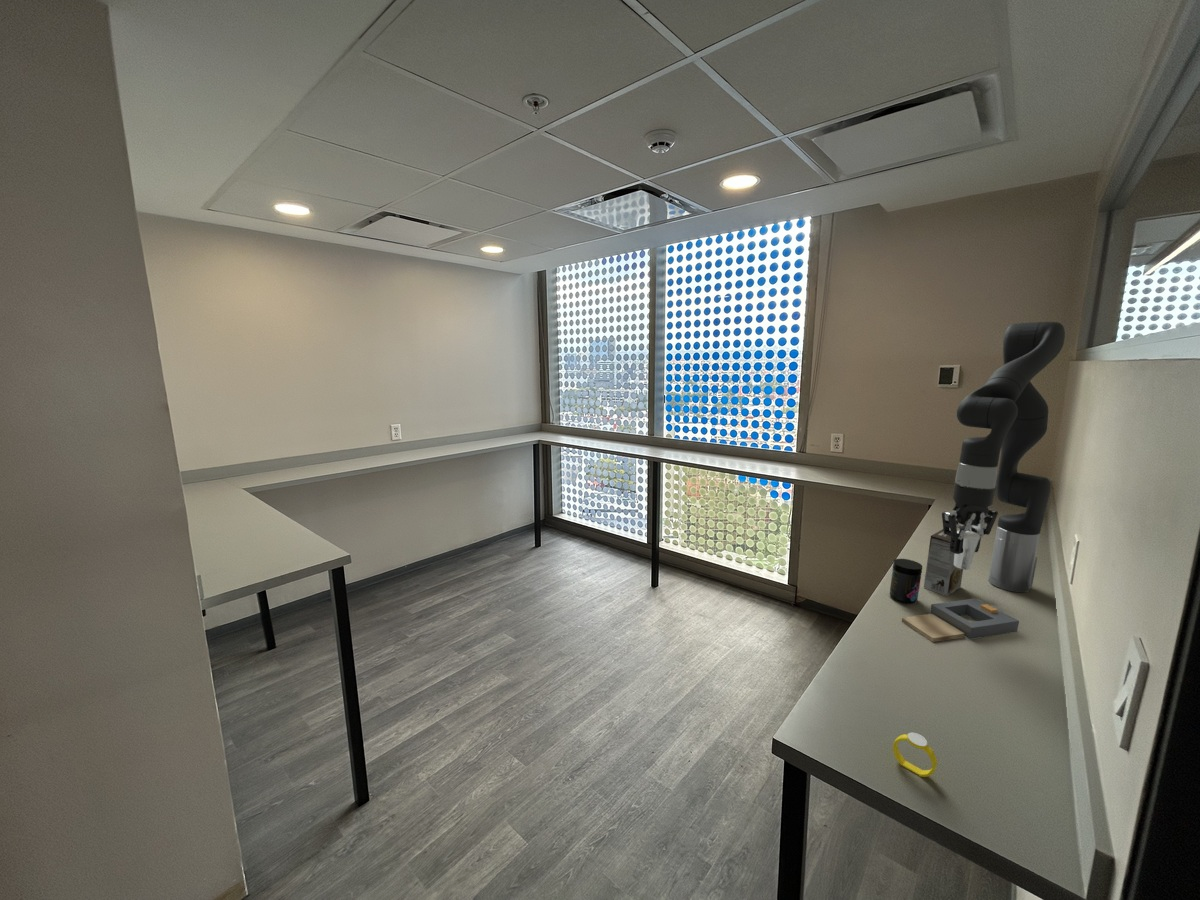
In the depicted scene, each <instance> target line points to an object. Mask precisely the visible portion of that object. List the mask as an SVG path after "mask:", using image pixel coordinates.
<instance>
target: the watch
mask: <svg viewBox="0 0 1200 900" xmlns="http://www.w3.org/2000/svg"><path fill="white" fill-rule="evenodd" d="M901 741H904V742H905V741H907V742H908V744H909V745H910V746H912V747H914V748H915V749H917V750H918V749H919V750H922V751H924V752H925V753H926V755H928V758H929V760H930V762H931V768H930V769H922V768H920V767H918V766H916V765H914V764H912V763H911V762H909V761H908V760H905V758H904V756H903V755H902V754H901V752H900V749H899V745H898V744H899V742H901ZM892 752H893V755H894V757H895V759H896V760H897V762H898V763H899V764H900V765H901V766H902V767H903V768H905V769H907V770H909V771H911V772H913V773H914V774H916V775H918V777H922V778H927V777H930V776H931V775H933V774H934V772H935V771H936V769H937V767H938V759H937V756H936V754H935V753H934V750H933V749H932V747H930V746H929V745H928V741H927V739H926V738H925V737H924V736H923V735H921V734H920V733H917V732H912V731H911V732H908V733H907V734H905V733H903V734H901V735H899V736H897V737H896V739H895V740H894V741H893V744H892Z"/></svg>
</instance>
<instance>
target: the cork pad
mask: <svg viewBox="0 0 1200 900" xmlns="http://www.w3.org/2000/svg"><path fill="white" fill-rule="evenodd" d="M901 622H902V623H903V624H904V625H907V626H908V627H909V628H911V629H912V630H914V631H916V632H917V633H918V634H920V635H921V636H923V637H924V638H926V639H927V640H929V641H931V642H932V643H934V642H935V643H936V642H941V641H947V640H954V639H961V638H965V636H964V635H965V633H963V632H962V631H960V630H958V629H957V628H955V627H953V626H952V625H950V624H948V623H947V622H945V621H943V620H942V619H940V618H938V617H937V616H935V615H933V614H930V613H928V614H920V615H919V614H918V615H913V616H904V617H902V618H901Z"/></svg>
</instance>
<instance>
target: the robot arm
mask: <svg viewBox="0 0 1200 900" xmlns="http://www.w3.org/2000/svg"><path fill="white" fill-rule="evenodd" d="M1065 337H1066V331H1065V327H1064V325H1063V323H1060V322H1058V321H1034V322H1032V321H1031V322H1017V323H1012V324H1010V325H1009V326H1008V327H1007V328H1006V330H1005V331H1004V335H1003V341H1002V360H1003V365H1001V366H1000V367H999V368H997V369H996V370H994V371H993V373H991V375H990V377H989V378H988V379H987V380H986V382H985V383H984V385H982V386H980V387H979V388H977V389H976V390H973V391H971V392H970V393H969V394H968V395H967V396H965V397H964V398H963V400H962V401H960V403H959V405H958V407H957V409H956V418H957V421H958V422H959V423H960V424H961V425H963V426H966V427H970V428H976V429H977V428H979V429H989V430H990V432H989V434H987V435H986V436H981V437H979V436H978V437H977V436H975V437H968V438H965V439H963V442H962V443H961V448H960V454H959V455H960V457H959V463H958V465H957V469H956V473H955V480H954V485H953V492H952V493H953V494H952V500H953V501H954V503H955V504H954V506H953V508H952V510H950V511H942V513H941V518H942V519H941V521H942V529H943V530H944V534H946V535H949V536H951V542H950V551H951V552H953V553H955V554H960V553H961V549H962V543H963V540H962V538H963V536H964V534H965V532H966V531H968V530H969V529H970V531H972V532H975V533H978V534H979V536H980V539H979V542H978V545H977V548H976V550H975V553H978V552H979V549H980V546H981V541H982V540H981V539H982V538H984V536H985V535H986V536H987V535H990V533H991V531H992V529H993V526H994V524H995V522H996V519H997V517H998V514H999V513H998V510H993V509H990V508H989V507H992V506H993V503H994V499H995V492H996V498H997V500H999V501H1000V502H1001V503H1004V504H1008V505H1013V506H1017V507H1022V508H1026V510H1025V511H1024V512H1023V513H1017V514H1016V513H1013V514H1004V515H1000V516H999V517H998V521H997V527H996V531H995V532H996V533H995V538H994V543H993V550H992V554H991V555H992V556H991V561H990V562H991V563H990V567H989V575H988V579H987V581H988V582H989V583H990V584H991V585H993V586H995V587H996V588H1000V589H1003V590H1005V591H1010V592H1015V593H1027V592H1028V591H1030V589H1032V588H1033V583H1034V578H1035V573H1036V567H1037V562H1038V556H1037V552H1038V546H1039V540H1040V535H1041V530H1042V527H1043V522H1044V517H1045V513H1046V510H1047V509H1046V508H1047V505H1048V502H1049V499H1050V494H1051V490H1052V489H1051V487H1052V485H1051V481H1050V479H1049V478H1048V477H1045V476H1042V475H1041V476H1040V475H1036V474H1035V475H1034V474H1030V473H1024V472H1018V466H1019V462H1020V460H1021V459H1022V458H1023V457H1024V456H1025V455H1026V454H1027V453H1028V451H1029V450H1031V449H1032V448H1033V447H1034V446H1035V445H1036V444H1037V443H1038V442H1040V441H1041V440H1042V439H1043V437H1044V436H1045V435H1046V434H1047V433H1046V432H1047V431H1048V423H1049V421H1048V420H1049V405H1048V403H1047V401H1046V400H1045V398H1044V397H1043V396H1042V394H1041V393H1040V392H1039V391H1038V389H1036V387H1035V386H1034V384H1033V383H1032V382H1031V381H1032V379H1033V378H1035V377H1036V376H1037V375H1038V374H1039V373H1040V372H1041V371H1042V370H1044V369H1045V368H1046V367H1047V366H1048V365H1049V364H1050V363H1051V362H1052V361H1053V360H1054V359H1056V357H1057V356H1058V355H1059V354H1060V352H1061V351H1062V349H1063V347H1064V343H1065ZM985 524H986V525H985ZM958 529H959V530H960V531H959V530H958ZM957 531H959V533H957Z"/></svg>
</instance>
